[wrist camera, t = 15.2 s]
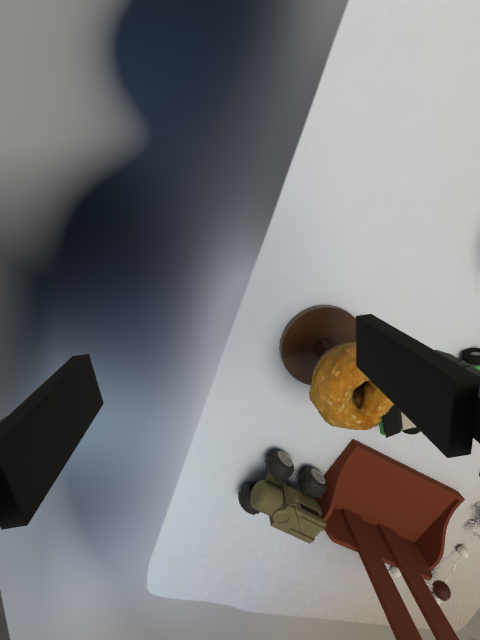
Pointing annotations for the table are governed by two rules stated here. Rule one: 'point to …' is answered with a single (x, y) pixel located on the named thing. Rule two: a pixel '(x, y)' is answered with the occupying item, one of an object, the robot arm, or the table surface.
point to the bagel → (346, 391)
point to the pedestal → (314, 338)
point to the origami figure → (475, 525)
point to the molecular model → (440, 583)
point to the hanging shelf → (391, 529)
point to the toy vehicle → (287, 498)
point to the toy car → (399, 422)
